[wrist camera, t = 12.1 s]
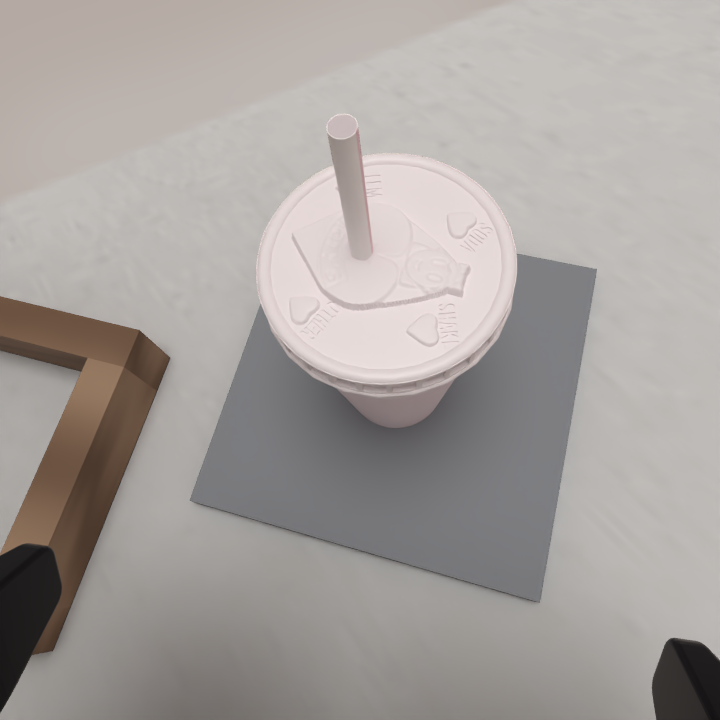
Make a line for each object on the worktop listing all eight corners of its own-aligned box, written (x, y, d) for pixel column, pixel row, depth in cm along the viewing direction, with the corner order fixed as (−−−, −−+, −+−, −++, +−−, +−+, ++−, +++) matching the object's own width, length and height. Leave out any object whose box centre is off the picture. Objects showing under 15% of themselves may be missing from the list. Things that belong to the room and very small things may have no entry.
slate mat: (536, 601, 21) (539, 602, 20) (195, 502, 23) (189, 500, 23) (592, 276, 25) (597, 269, 24) (296, 217, 27) (294, 210, 27)
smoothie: (346, 289, 25) (270, -29, 12) (498, 331, 24) (600, 28, 11) (290, 434, 23) (128, 244, 10) (453, 487, 22) (510, 351, 9)
